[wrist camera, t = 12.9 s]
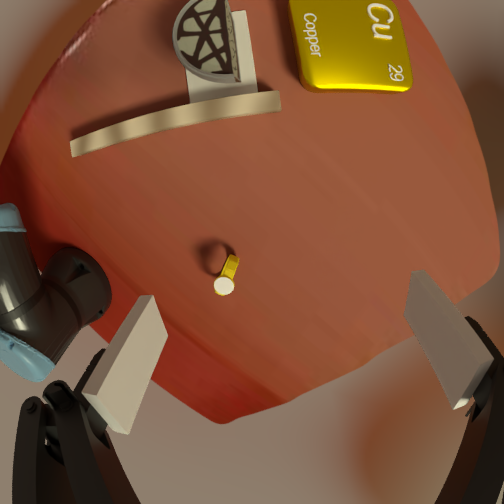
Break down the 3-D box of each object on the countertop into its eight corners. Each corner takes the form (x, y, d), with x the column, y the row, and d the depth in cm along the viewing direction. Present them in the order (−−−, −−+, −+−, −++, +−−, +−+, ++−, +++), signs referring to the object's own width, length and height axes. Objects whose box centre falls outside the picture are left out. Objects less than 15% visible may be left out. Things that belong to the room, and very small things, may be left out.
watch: (227, 246, 42) (222, 262, 36) (244, 253, 42) (242, 270, 37) (213, 279, 44) (207, 298, 38) (229, 286, 44) (225, 306, 39)
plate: (190, 103, 33) (190, 103, 33) (180, 23, 28) (180, 22, 27) (258, 92, 32) (258, 92, 32) (245, 10, 27) (245, 10, 26)
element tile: (284, 1, 26) (286, -13, 22) (384, 7, 24) (396, -4, 20) (301, 94, 32) (306, 89, 28) (402, 95, 31) (417, 93, 26)
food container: (188, 22, 27) (165, -6, 18) (233, 14, 27) (222, -18, 18) (196, 99, 32) (172, 90, 23) (242, 92, 32) (233, 79, 23)
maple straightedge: (85, 154, 36) (72, 157, 33) (82, 136, 35) (69, 138, 32) (280, 111, 33) (281, 110, 30) (277, 90, 32) (278, 86, 29)
